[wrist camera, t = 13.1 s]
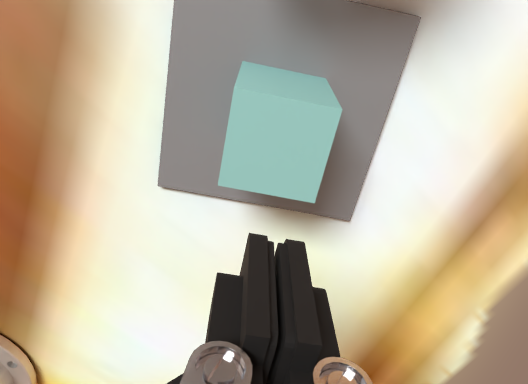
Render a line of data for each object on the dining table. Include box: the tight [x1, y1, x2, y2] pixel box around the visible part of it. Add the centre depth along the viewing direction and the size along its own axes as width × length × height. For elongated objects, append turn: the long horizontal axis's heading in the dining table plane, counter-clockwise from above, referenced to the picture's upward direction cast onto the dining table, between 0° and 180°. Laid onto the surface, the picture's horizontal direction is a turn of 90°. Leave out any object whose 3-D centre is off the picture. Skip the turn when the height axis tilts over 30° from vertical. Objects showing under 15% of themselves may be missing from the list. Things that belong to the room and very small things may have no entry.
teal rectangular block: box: [218, 61, 343, 203], centre depth 23 cm, size 5×5×7 cm
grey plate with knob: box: [158, 0, 421, 221], centre depth 24 cm, size 14×14×6 cm
